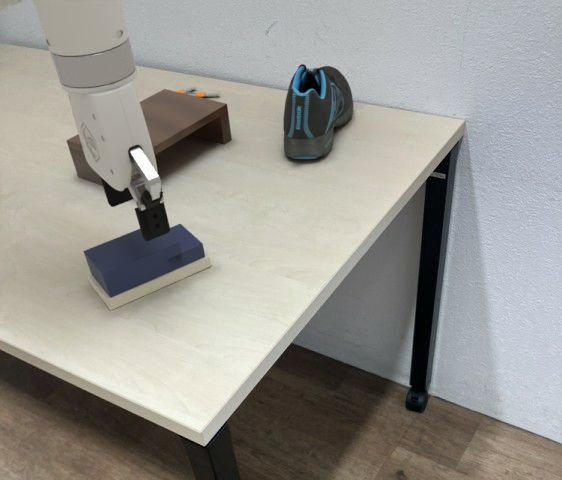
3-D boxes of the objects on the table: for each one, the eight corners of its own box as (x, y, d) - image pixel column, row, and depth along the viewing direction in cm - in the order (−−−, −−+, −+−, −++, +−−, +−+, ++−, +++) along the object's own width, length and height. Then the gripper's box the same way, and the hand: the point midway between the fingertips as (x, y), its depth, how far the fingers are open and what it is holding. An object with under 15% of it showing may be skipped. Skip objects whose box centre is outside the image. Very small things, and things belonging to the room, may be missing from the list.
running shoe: (357, 95, 112) (359, 31, 104) (341, 165, 94) (341, 93, 86) (305, 95, 114) (303, 31, 106) (280, 163, 96) (274, 93, 88)
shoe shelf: (140, 198, 91) (130, 161, 87) (78, 176, 97) (66, 140, 93) (231, 139, 103) (227, 103, 98) (171, 123, 109) (164, 88, 105)
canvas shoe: (110, 310, 73) (99, 276, 69) (90, 284, 77) (78, 251, 73) (211, 266, 78) (205, 232, 74) (187, 243, 82) (180, 210, 78)
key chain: (158, 113, 112) (157, 109, 111) (146, 100, 116) (145, 96, 116) (222, 96, 115) (221, 92, 115) (207, 84, 120) (206, 80, 119)
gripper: (30, 52, 63) (82, 201, 75) (92, 100, 52) (141, 264, 65) (97, 34, 66) (137, 180, 78) (169, 75, 55) (202, 237, 67)
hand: (138, 218), depth 71 cm, fingers open, 9 cm apart
